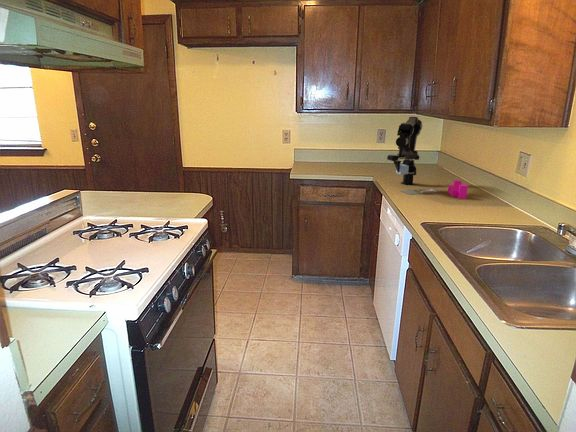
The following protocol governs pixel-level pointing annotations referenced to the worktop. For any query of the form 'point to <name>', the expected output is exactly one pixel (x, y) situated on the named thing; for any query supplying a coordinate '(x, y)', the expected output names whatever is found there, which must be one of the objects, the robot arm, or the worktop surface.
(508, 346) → the worktop surface
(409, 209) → the worktop surface
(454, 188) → the toy block
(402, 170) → the slate blue cube
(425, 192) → the letter mat
